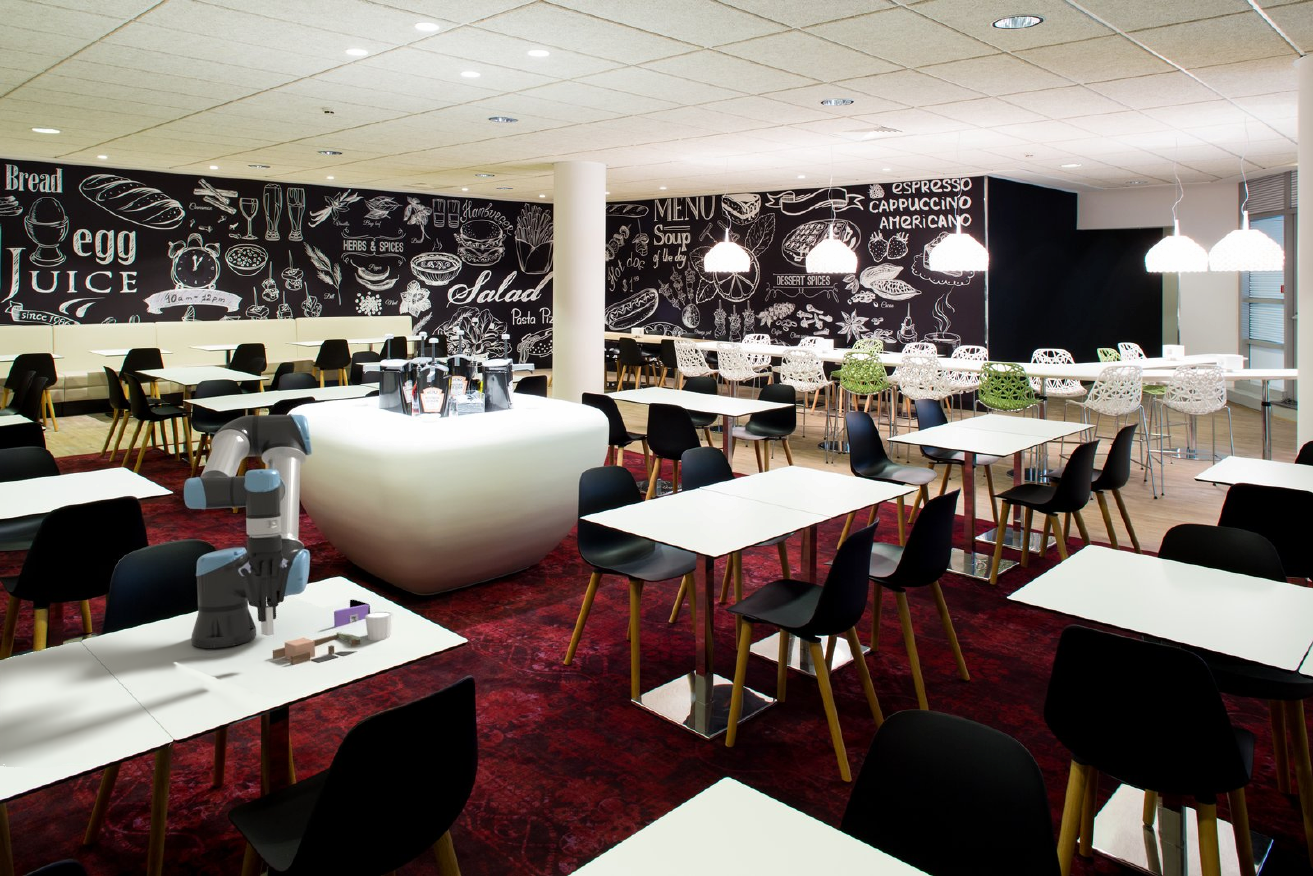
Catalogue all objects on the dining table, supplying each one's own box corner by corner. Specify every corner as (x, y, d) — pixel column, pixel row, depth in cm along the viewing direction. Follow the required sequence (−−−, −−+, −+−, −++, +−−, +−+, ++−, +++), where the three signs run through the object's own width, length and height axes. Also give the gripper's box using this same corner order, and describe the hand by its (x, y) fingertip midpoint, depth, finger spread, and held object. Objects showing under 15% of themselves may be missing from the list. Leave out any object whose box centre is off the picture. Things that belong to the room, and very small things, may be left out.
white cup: (385, 645, 231) (384, 618, 231) (360, 644, 233) (359, 617, 232) (398, 638, 238) (397, 612, 238) (374, 637, 239) (373, 611, 239)
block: (285, 658, 222) (284, 642, 221) (304, 653, 225) (303, 637, 225) (296, 662, 218) (295, 645, 218) (315, 657, 222) (314, 641, 222)
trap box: (272, 658, 221) (272, 648, 221) (340, 641, 236) (339, 631, 236) (301, 667, 213) (300, 657, 213) (369, 649, 228) (368, 639, 228)
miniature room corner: (376, 628, 249) (375, 603, 249) (335, 637, 240) (334, 612, 240) (354, 621, 257) (353, 597, 257) (313, 629, 249) (313, 605, 248)
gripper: (245, 539, 206) (249, 642, 207) (298, 532, 217) (301, 630, 218) (229, 537, 211) (232, 637, 212) (281, 530, 221) (284, 626, 222)
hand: (267, 634), depth 215 cm, fingers closed
